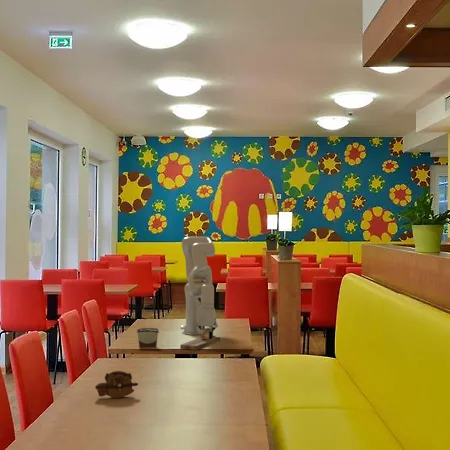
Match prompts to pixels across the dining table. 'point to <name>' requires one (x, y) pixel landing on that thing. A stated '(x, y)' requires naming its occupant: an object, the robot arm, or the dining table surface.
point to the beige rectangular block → (205, 333)
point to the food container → (148, 337)
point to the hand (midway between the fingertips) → (207, 337)
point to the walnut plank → (199, 343)
